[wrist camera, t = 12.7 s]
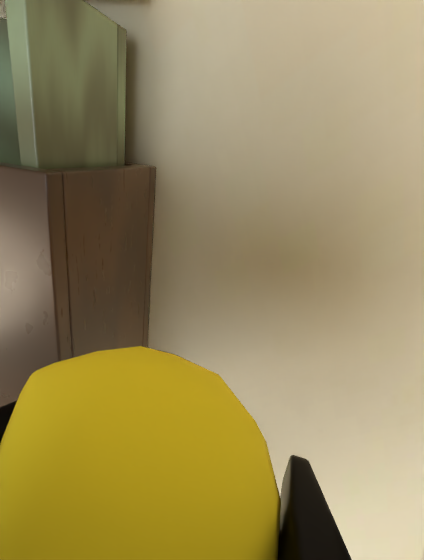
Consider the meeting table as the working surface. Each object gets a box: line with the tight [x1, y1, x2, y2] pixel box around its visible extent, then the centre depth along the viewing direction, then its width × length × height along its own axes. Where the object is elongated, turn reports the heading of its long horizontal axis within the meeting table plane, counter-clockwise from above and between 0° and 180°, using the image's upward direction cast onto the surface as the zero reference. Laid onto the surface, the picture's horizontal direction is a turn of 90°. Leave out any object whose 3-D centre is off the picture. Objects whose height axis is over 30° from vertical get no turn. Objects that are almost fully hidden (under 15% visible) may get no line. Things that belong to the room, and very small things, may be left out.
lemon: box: [0, 346, 281, 560], centre depth 7 cm, size 7×5×5 cm
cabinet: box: [0, 162, 156, 407], centre depth 18 cm, size 14×13×9 cm
